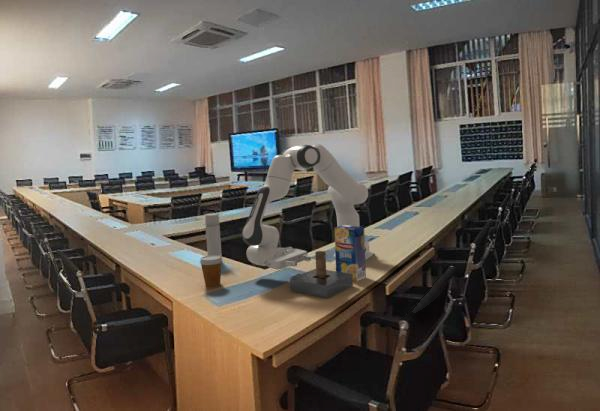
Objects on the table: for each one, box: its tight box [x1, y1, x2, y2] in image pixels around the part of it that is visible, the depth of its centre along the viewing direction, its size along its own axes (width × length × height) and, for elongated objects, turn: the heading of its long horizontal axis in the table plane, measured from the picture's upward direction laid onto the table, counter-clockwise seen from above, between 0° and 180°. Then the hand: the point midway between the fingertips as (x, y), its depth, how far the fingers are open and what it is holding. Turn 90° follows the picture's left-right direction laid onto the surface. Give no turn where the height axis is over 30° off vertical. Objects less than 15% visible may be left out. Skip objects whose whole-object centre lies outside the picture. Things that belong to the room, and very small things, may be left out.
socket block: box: [289, 268, 354, 300], centre depth 179 cm, size 18×18×5 cm
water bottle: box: [203, 213, 223, 259], centre depth 231 cm, size 9×8×25 cm
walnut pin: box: [315, 250, 327, 279], centre depth 179 cm, size 4×4×14 cm
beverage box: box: [334, 225, 367, 282], centre depth 192 cm, size 7×11×22 cm, turn 46°
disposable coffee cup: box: [199, 255, 223, 288], centre depth 191 cm, size 10×10×12 cm
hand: (302, 261), depth 184 cm, fingers open, 8 cm apart
